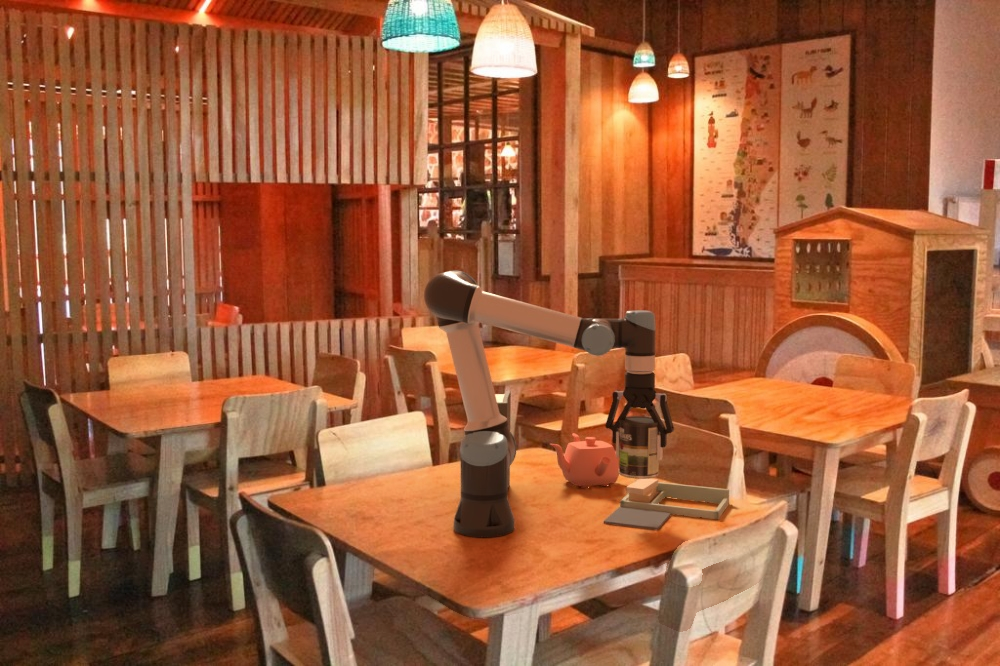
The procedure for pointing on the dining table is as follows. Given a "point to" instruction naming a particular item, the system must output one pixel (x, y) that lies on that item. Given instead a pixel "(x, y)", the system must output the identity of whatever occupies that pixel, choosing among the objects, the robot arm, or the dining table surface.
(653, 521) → the mat
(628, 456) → the coffee can
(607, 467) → the teapot
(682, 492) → the rack
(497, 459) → the robot arm
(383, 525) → the dining table surface
